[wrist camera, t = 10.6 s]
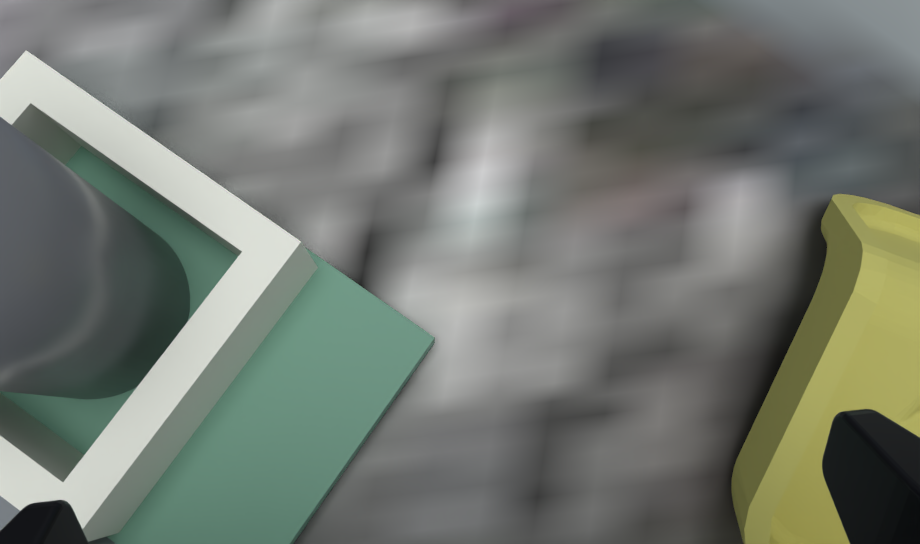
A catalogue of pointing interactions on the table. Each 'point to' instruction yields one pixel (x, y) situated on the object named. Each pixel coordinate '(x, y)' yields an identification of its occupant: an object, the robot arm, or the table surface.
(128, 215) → the plug
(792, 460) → the plastic component
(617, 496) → the table surface
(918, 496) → the robot arm
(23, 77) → the header board
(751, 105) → the table surface
